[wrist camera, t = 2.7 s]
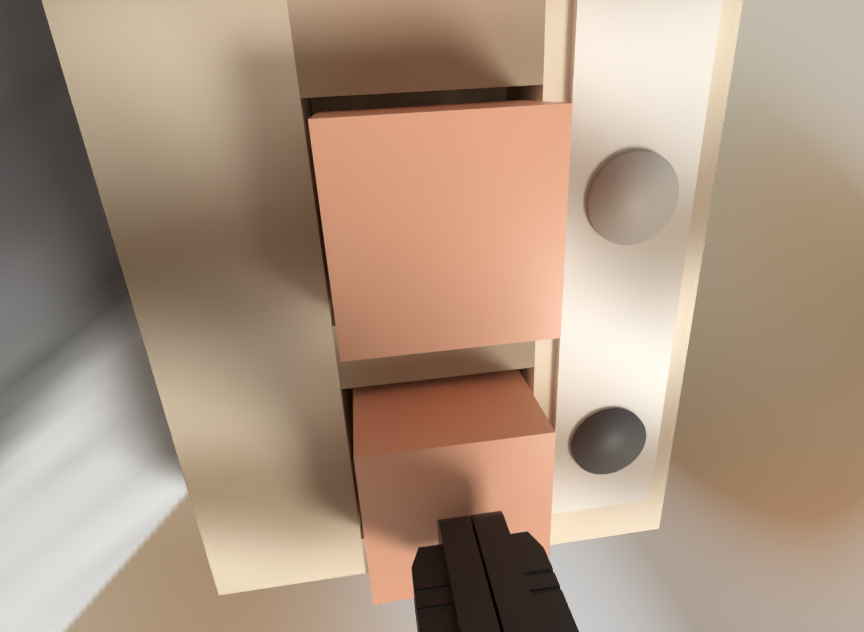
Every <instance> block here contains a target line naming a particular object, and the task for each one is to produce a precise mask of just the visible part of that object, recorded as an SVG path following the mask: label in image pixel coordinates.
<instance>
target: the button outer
mask: <svg viewBox="0 0 864 632" xmlns="http://www.w3.org/2000/svg"><path fill="white" fill-rule="evenodd" d="M555 436H556V432H555V430H554V429H553V427H552V425H551V424H550V422H549V420H548V418H547V417H546V415H545V413H544V412H543V410H542V408H541V407H540V405H539V403H538V402H537V400H536V398H535V397H534V395H533V393H532V391H531V390H530V388H529V386H528V385H527V383H526V381H525V380H524V378H523V376H522V375H521V373H520V371H519V370H518V369H516V370H507V371H498V372H489V373H481V374H472V375H463V376H454V377H446V378H437V379H428V380H419V381H411V382H402V383H393V384H384V385H376V386H367V387H358V388H353V439H354V465H355V472H356V480H357V487H358V495H359V502H360V509H361V517H362V524H363V532H364V539H365V546H366V554H367V561H368V569H369V576H370V583H371V591H372V598H373V604H380V603H386V602H393V601H399V600H405V599H411V598H414V591H413V580H412V569H411V568H412V565H413V562H414V559H415V556H416V553H417V550H418V547H425V546H432V545H439V542H438V526H437V520H439V519H446V518H453V517H461V516H469V518H470V515H474V514H481V513H488V512H495V511H502V513H503V515H504V517H505V520H506V523H507V526H508V529H509V531H510V534H513V533H520V532H527V531H528V532H529V533H530V534H531V535H532V536H533V537H534V538H535V539H536V540H537V541H538V542H539V543H540V544H541V545H542V546H543V547H544V549H545V551H546V554H547V556H548V559H549V551H550V533H551V513H552V494H553V475H554V455H555Z"/></svg>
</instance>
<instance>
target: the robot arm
mask: <svg viewBox="0 0 864 632" xmlns="http://www.w3.org/2000/svg"><path fill="white" fill-rule="evenodd" d="M437 526H438V542H439V545H432V546H425V547H418V550H417V553H416V556H415V559H414V562H413V565H412V568H411V569H412V580H413V591H414V602H415V613H416V622H417V630H418V632H579V631H578V628H577V626H576V624H575V621H574V619H573V617H572V614H571V612H570V609H569V607H568V604H567V602H566V599H565V597H564V595H563V592H562V590H560V585H559V583H558V581H557V578H556V576H555V573H553V568H552V566H551V563H550V561H549V559H548V556H547V554H546V551H545V549H544V547H543V546H542V545H541V544H540V543H539V542H538V541H537V540H536V539H535V538H534V537H533V536H532V535H531V534H530V533H529V532H528V531H527V532H520V533H513V534H510V531H509V529H508V526H507V523H506V520H505V517H504V515H503V513H502V511H495V512H488V513H481V514H474V515H470V518H469V516H461V517H453V518H446V519H439V520H437Z"/></svg>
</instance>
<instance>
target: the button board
mask: <svg viewBox="0 0 864 632" xmlns="http://www.w3.org/2000/svg"><path fill="white" fill-rule="evenodd" d="M42 3H43V7H44V10H45V13H46V17H47V20H48V24H49V27H50V30H51V34H52V37H53V40H54V44H55V47H56V50H57V54H58V57H59V60H60V64H61V67H62V70H63V74H64V77H65V81H66V84H67V87H68V91H69V94H70V97H71V101H72V104H73V107H74V111H75V114H76V117H77V121H78V124H79V127H80V131H81V134H82V138H83V141H84V144H85V148H86V151H87V154H88V158H89V161H90V164H91V168H92V171H93V174H94V178H95V181H96V185H97V188H98V191H99V195H100V198H101V201H102V205H103V208H104V211H105V215H106V218H107V221H108V225H109V228H110V231H111V235H112V238H113V242H114V245H115V248H116V252H117V255H118V258H119V262H120V265H121V268H122V272H123V275H124V278H125V282H126V285H127V288H128V292H129V295H130V299H131V302H132V305H133V309H134V312H135V315H136V319H137V322H138V325H139V329H140V332H141V335H142V339H143V342H144V346H145V349H146V352H147V356H148V359H149V362H150V366H151V369H152V372H153V376H154V379H155V382H156V386H157V389H158V392H159V396H160V399H161V403H162V406H163V409H164V413H165V416H166V419H167V423H168V426H169V429H170V433H171V436H172V439H173V443H174V446H175V449H176V453H177V456H178V460H179V463H180V466H181V470H182V473H183V476H184V480H185V483H186V486H187V490H188V493H189V496H190V500H191V503H192V506H193V510H194V513H195V516H196V520H197V523H198V526H199V530H200V533H201V536H202V540H203V543H204V546H205V550H206V553H207V557H208V560H209V564H210V567H211V570H212V574H213V577H214V580H215V584H216V587H217V590H218V594H219V595H224V594H230V593H236V592H244V591H250V590H257V589H263V588H270V587H277V586H283V585H290V584H297V583H303V582H310V581H316V580H323V579H329V578H336V577H342V576H349V575H356V574H362V573H369V569H368V561H367V554H366V546H365V539H364V532H363V524H362V517H361V509H360V502H359V495H358V487H357V480H356V472H355V465H354V439H353V388H358V387H367V386H376V385H384V384H393V383H402V382H411V381H419V380H428V379H437V378H446V377H454V376H463V375H472V374H481V373H489V372H498V371H507V370H516V369H518V370H519V371H520V373H521V375H522V376H523V378H524V380H525V381H526V383H527V385H528V386H529V388H530V390H531V391H532V393H533V395H534V397H535V398H536V400H537V402H538V403H539V405H540V407H541V408H542V410H543V412H544V413H545V415H546V417H547V418H548V420H549V422H550V424H551V425H552V427H553V429H554V430H555V432H556V436H555V455H554V475H553V494H552V513H551V533H550V545H553V544H560V543H567V542H573V541H579V540H587V539H593V538H600V537H606V536H613V535H619V534H626V533H632V532H639V531H646V530H652V529H659V525H660V518H661V512H662V506H663V499H664V493H665V487H666V480H667V475H668V468H669V462H670V455H671V449H672V443H673V437H674V430H675V424H676V418H677V412H678V405H679V399H680V393H681V387H682V381H683V374H684V368H685V362H686V355H687V348H688V342H689V336H690V330H691V324H692V317H693V312H694V305H695V299H696V293H697V286H698V279H699V274H700V267H701V261H702V255H703V249H704V242H705V236H706V230H707V224H708V217H709V211H710V204H711V198H712V192H713V186H714V180H715V174H716V167H717V161H718V155H719V148H720V142H721V136H722V130H723V123H724V117H725V111H726V105H727V98H728V91H729V86H730V79H731V73H732V67H733V60H734V54H735V48H736V42H737V35H738V29H739V23H740V17H741V10H742V3H743V0H42ZM512 100H533V101H548V102H563V103H573V108H572V127H571V146H570V166H569V185H568V204H567V224H566V243H565V262H564V281H563V301H562V320H561V338H555V339H546V340H537V341H528V342H519V343H510V344H500V345H491V346H482V347H473V348H464V349H454V350H445V351H436V352H427V353H418V354H409V355H399V356H390V357H381V358H372V359H363V360H354V361H344V362H341V361H340V354H339V346H338V339H337V332H336V324H335V317H334V309H333V302H332V294H331V287H330V280H329V272H328V265H327V257H326V250H325V243H324V235H323V228H322V220H321V213H320V206H319V198H318V191H317V183H316V176H315V169H314V161H313V154H312V146H311V139H310V131H309V124H308V119H309V118H310V117H312V116H313V115H314V114H316V113H317V112H326V111H342V110H359V109H376V108H393V107H410V106H427V105H444V104H461V103H478V102H495V101H512Z"/></svg>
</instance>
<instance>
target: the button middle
mask: <svg viewBox="0 0 864 632" xmlns="http://www.w3.org/2000/svg"><path fill="white" fill-rule="evenodd" d="M572 108H573V103H563V102H548V101H533V100H512V101H495V102H478V103H461V104H444V105H427V106H410V107H393V108H376V109H359V110H342V111H326V112H317V113H316V114H314V115H313V116H312V117H310V118H309V119H308V124H309V131H310V139H311V146H312V154H313V161H314V169H315V176H316V183H317V191H318V198H319V206H320V213H321V220H322V228H323V235H324V243H325V250H326V257H327V265H328V272H329V280H330V287H331V294H332V302H333V309H334V317H335V324H336V332H337V339H338V346H339V354H340V361H341V362H344V361H354V360H363V359H372V358H381V357H390V356H399V355H409V354H418V353H427V352H436V351H445V350H454V349H464V348H473V347H482V346H491V345H500V344H510V343H519V342H528V341H537V340H546V339H555V338H561V320H562V301H563V281H564V262H565V243H566V224H567V204H568V185H569V166H570V146H571V127H572Z"/></svg>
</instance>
